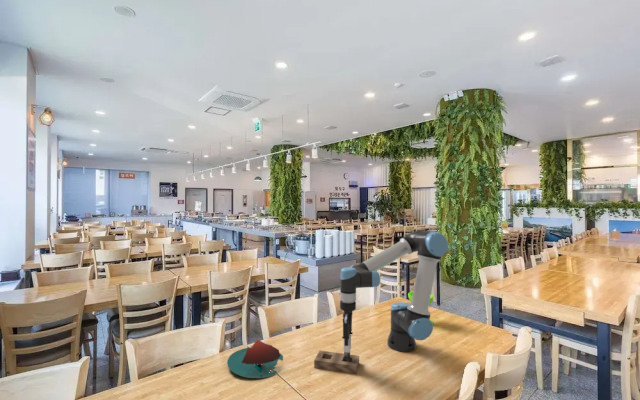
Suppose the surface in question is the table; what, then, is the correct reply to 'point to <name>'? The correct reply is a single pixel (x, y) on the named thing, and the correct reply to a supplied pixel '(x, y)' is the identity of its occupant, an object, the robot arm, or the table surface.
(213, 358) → the table surface
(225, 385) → the table surface
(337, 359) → the socket block
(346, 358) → the peg
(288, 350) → the table surface
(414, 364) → the table surface
